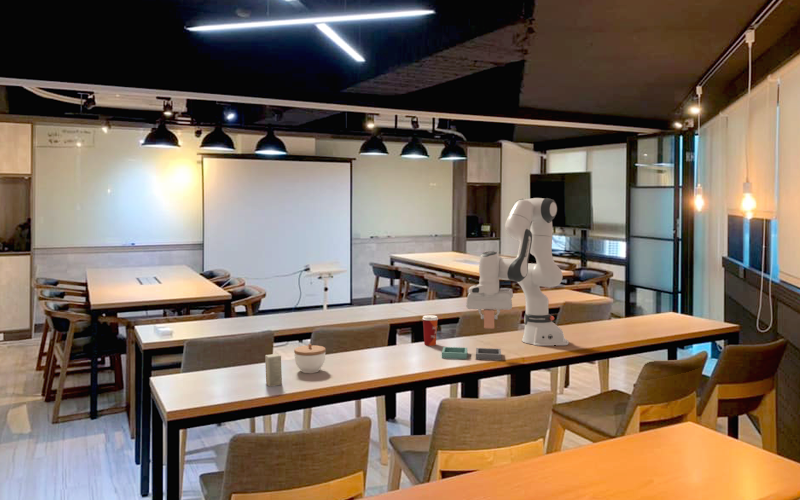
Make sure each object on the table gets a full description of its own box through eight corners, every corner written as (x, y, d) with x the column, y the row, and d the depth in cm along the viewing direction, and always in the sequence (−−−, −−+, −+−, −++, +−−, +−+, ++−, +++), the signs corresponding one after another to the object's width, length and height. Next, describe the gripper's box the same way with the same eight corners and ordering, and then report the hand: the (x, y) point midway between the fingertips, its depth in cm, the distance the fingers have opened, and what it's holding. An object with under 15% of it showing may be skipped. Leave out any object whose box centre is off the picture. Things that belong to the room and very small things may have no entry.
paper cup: (436, 346, 278) (437, 318, 277) (421, 346, 279) (421, 317, 278) (439, 343, 285) (439, 315, 284) (423, 342, 287) (423, 314, 286)
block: (494, 326, 260) (494, 308, 259) (494, 328, 255) (494, 310, 255) (484, 325, 261) (484, 308, 260) (484, 328, 256) (484, 310, 255)
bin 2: (500, 354, 263) (500, 348, 263) (501, 360, 252) (501, 354, 252) (476, 353, 265) (476, 347, 265) (475, 359, 254) (475, 353, 254)
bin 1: (467, 353, 265) (467, 347, 265) (466, 358, 254) (466, 353, 254) (443, 352, 267) (443, 346, 267) (441, 358, 256) (441, 352, 256)
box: (278, 381, 220) (278, 353, 219) (282, 384, 216) (281, 355, 215) (265, 383, 217) (264, 354, 217) (268, 386, 214) (267, 357, 213)
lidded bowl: (288, 371, 235) (287, 344, 234) (312, 365, 244) (312, 339, 244) (307, 377, 226) (307, 349, 226) (332, 370, 236) (332, 343, 235)
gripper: (512, 287, 258) (512, 318, 259) (466, 287, 261) (466, 317, 262) (513, 289, 252) (513, 320, 253) (466, 289, 255) (466, 320, 256)
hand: (489, 319), depth 258 cm, fingers closed on block, 4 cm apart
